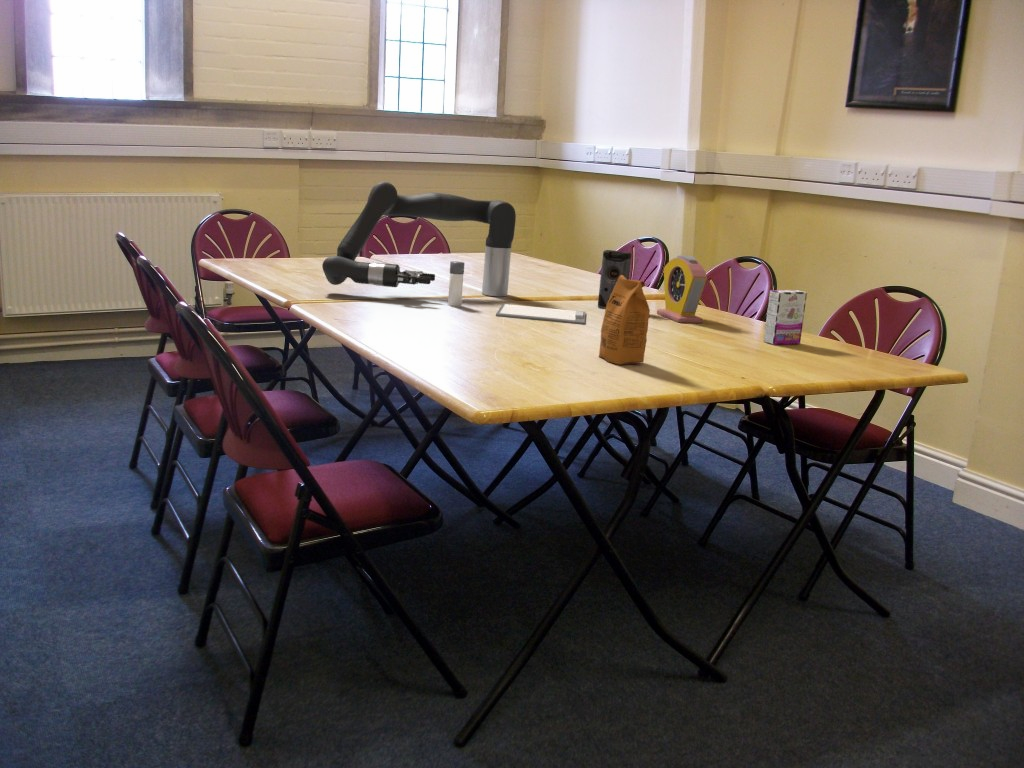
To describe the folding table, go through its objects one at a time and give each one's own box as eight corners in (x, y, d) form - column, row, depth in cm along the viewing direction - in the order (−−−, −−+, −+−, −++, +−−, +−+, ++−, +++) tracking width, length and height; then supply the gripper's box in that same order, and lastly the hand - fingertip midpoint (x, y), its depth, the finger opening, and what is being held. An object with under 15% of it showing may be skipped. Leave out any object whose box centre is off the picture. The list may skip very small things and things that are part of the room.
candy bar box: (789, 341, 308) (796, 289, 304) (800, 344, 303) (808, 292, 299) (761, 341, 302) (769, 289, 299) (772, 345, 298) (780, 291, 294)
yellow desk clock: (652, 312, 342) (659, 250, 337) (676, 313, 345) (683, 252, 340) (682, 324, 322) (690, 259, 317) (707, 325, 325) (715, 260, 320)
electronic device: (596, 307, 342) (602, 250, 337) (601, 305, 347) (607, 249, 343) (621, 311, 339) (628, 253, 334) (626, 309, 344) (632, 252, 339)
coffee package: (626, 355, 264) (635, 274, 259) (648, 366, 253) (658, 281, 248) (592, 355, 260) (601, 273, 255) (613, 366, 249) (623, 280, 244)
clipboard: (502, 305, 330) (502, 300, 329) (585, 313, 328) (585, 308, 328) (495, 315, 308) (496, 310, 308) (584, 324, 307) (585, 319, 306)
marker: (448, 303, 324) (451, 260, 321) (462, 305, 324) (465, 262, 321) (446, 305, 320) (449, 262, 317) (460, 307, 320) (463, 263, 316)
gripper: (379, 265, 314) (429, 270, 313) (388, 261, 328) (436, 265, 327) (378, 289, 316) (428, 293, 315) (387, 283, 329) (435, 287, 328)
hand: (432, 279), depth 321 cm, fingers open, 8 cm apart
